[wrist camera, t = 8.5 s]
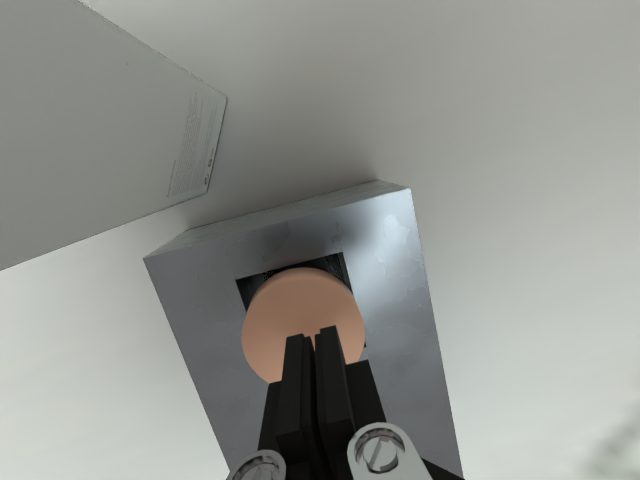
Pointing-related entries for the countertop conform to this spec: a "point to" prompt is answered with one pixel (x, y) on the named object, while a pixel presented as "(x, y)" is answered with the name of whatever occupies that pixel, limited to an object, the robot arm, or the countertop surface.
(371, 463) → the robot arm
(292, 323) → the knob
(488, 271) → the countertop surface
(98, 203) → the skincare box
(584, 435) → the countertop surface
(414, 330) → the housing
